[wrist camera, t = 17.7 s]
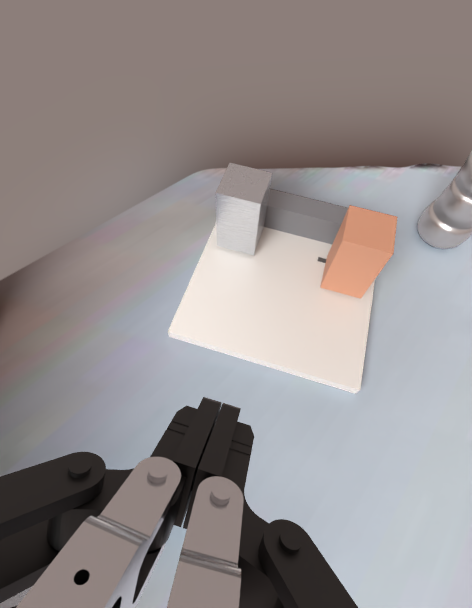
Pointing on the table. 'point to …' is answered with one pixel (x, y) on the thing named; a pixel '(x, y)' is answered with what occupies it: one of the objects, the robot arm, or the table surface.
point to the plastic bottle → (450, 212)
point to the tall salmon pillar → (359, 251)
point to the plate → (279, 299)
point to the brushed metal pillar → (242, 207)
